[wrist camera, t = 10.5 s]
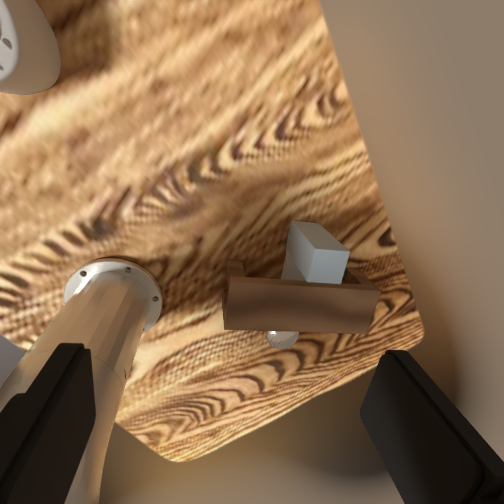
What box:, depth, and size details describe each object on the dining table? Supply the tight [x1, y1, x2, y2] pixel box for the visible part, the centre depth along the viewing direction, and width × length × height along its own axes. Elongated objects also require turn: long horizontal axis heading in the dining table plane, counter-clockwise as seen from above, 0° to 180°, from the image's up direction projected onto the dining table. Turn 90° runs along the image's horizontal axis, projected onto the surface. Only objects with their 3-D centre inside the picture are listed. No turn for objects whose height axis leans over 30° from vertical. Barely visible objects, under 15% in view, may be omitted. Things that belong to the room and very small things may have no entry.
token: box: [266, 331, 299, 349], centre depth 47 cm, size 5×5×2 cm
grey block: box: [281, 220, 350, 284], centre depth 39 cm, size 16×4×10 cm, turn 172°
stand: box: [222, 259, 381, 334], centre depth 41 cm, size 7×20×6 cm, turn 82°
